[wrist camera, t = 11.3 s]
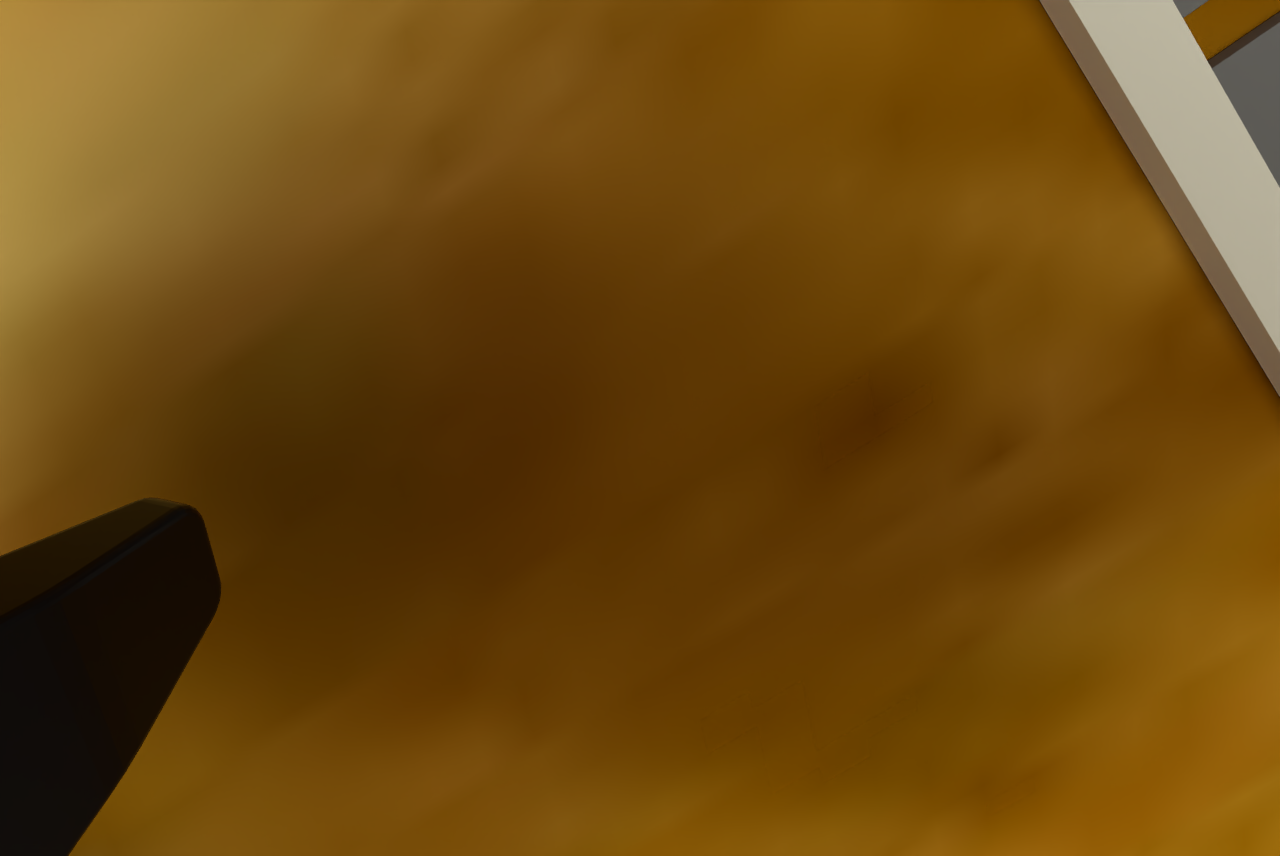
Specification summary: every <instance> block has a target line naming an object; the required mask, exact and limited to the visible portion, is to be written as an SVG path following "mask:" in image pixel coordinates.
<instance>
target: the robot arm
mask: <svg viewBox="0 0 1280 856" xmlns="http://www.w3.org/2000/svg"><path fill="white" fill-rule="evenodd" d="M220 595H221V582H220V578H219V574H218V570H217V567H216V563H215V559H214V556H213V552H212V549H211V545H210V541H209V538H208V534H207V530H206V527H205V523H204V520H203V518H202V516H201V515H200V513H199V512H198V511H197V510H196V509H195V508H193V507H192V506H190V505H187V504H182V503H177V502H173V501H168V500H164V499H159V498H144V499H141V500H138V501H135V502H133V503H130V504H128V505H125V506H123V507H121V508H118V509H116V510H113V511H111V512H108V513H106V514H103V515H101V516H98V517H96V518H93V519H91V520H88V521H86V522H83V523H81V524H78V525H76V526H74V527H71V528H69V529H66V530H64V531H61V532H59V533H56V534H54V535H51V536H49V537H46V538H44V539H41V540H39V541H36V542H34V543H31V544H29V545H27V546H24V547H22V548H19V549H17V550H14V551H12V552H9V553H7V554H4V555H2V556H0V856H68V855H69V854H70V853H71V851H72V850H73V848H74V847H75V845H76V844H77V842H78V841H79V840H80V838H81V837H82V835H83V834H84V832H85V831H86V830H87V828H88V827H89V825H90V824H91V822H92V821H93V820H94V818H95V817H96V815H97V814H98V812H99V811H100V809H101V808H102V807H103V805H104V804H105V802H106V801H107V799H108V798H109V796H110V795H111V793H112V792H113V790H114V789H115V787H116V786H117V784H118V783H119V781H120V780H121V778H122V777H123V775H124V774H125V772H126V771H127V769H128V767H129V766H130V764H131V762H132V760H133V759H134V757H135V755H136V754H137V752H138V751H139V749H140V747H141V746H142V744H143V742H144V740H145V738H146V737H147V735H148V733H149V731H150V729H151V728H152V726H153V724H154V722H155V721H156V719H157V717H158V715H159V713H160V712H161V710H162V708H163V706H164V704H165V703H166V701H167V699H168V697H169V696H170V694H171V692H172V690H173V688H174V687H175V685H176V683H177V681H178V679H179V678H180V676H181V674H182V672H183V671H184V669H185V667H186V665H187V663H188V662H189V660H190V658H191V656H192V655H193V653H194V651H195V649H196V647H197V646H198V644H199V642H200V640H201V638H202V637H203V635H204V633H205V631H206V630H207V628H208V626H209V624H210V622H211V621H212V619H213V617H214V615H215V613H216V610H217V607H218V604H219V601H220Z"/></svg>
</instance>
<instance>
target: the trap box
mask: <svg viewBox="0 0 1280 856" xmlns="http://www.w3.org/2000/svg"><path fill="white" fill-rule="evenodd" d="M1039 1H1040V2H1041V4H1042V6H1043V7H1044V9H1045V10H1046V12H1047V14H1048V15H1049V17H1050V19H1051V20H1052V22H1053V24H1054V25H1055V27H1056V29H1057V30H1058V32H1059V34H1060V35H1061V37H1062V39H1063V40H1064V42H1065V43H1066V45H1067V47H1068V48H1069V50H1070V52H1071V53H1072V55H1073V57H1074V58H1075V60H1076V62H1077V63H1078V65H1079V67H1080V68H1081V70H1082V72H1083V73H1084V75H1085V76H1086V78H1087V80H1088V81H1089V83H1090V85H1091V86H1092V88H1093V90H1094V91H1095V93H1096V95H1097V96H1098V98H1099V100H1100V101H1101V103H1102V105H1103V106H1104V108H1105V109H1106V111H1107V113H1108V114H1109V116H1110V118H1111V119H1112V121H1113V123H1114V124H1115V126H1116V128H1117V129H1118V131H1119V133H1120V134H1121V136H1122V138H1123V139H1124V141H1125V142H1126V144H1127V146H1128V147H1129V149H1130V151H1131V152H1132V154H1133V156H1134V157H1135V159H1136V161H1137V162H1138V164H1139V166H1140V167H1141V169H1142V171H1143V172H1144V174H1145V175H1146V177H1147V179H1148V180H1149V182H1150V184H1151V185H1152V187H1153V189H1154V190H1155V192H1156V194H1157V195H1158V197H1159V199H1160V200H1161V202H1162V204H1163V205H1164V207H1165V208H1166V210H1167V212H1168V213H1169V215H1170V217H1171V218H1172V220H1173V222H1174V223H1175V225H1176V227H1177V228H1178V230H1179V232H1180V233H1181V235H1182V237H1183V238H1184V240H1185V241H1186V243H1187V245H1188V246H1189V248H1190V250H1191V251H1192V253H1193V255H1194V256H1195V258H1196V260H1197V261H1198V263H1199V265H1200V266H1201V268H1202V270H1203V271H1204V273H1205V274H1206V276H1207V278H1208V279H1209V281H1210V283H1211V284H1212V286H1213V288H1214V289H1215V291H1216V293H1217V294H1218V296H1219V298H1220V299H1221V301H1222V303H1223V304H1224V306H1225V307H1226V309H1227V311H1228V312H1229V314H1230V316H1231V317H1232V319H1233V321H1234V322H1235V324H1236V326H1237V327H1238V329H1239V331H1240V332H1241V334H1242V336H1243V337H1244V339H1245V340H1246V342H1247V344H1248V345H1249V347H1250V349H1251V350H1252V352H1253V354H1254V355H1255V357H1256V359H1257V360H1258V362H1259V364H1260V365H1261V367H1262V369H1263V370H1264V372H1265V373H1266V375H1267V377H1268V378H1269V380H1270V382H1271V383H1272V385H1273V387H1274V388H1275V390H1276V392H1277V393H1278V395H1279V397H1280V12H1278V13H1277V14H1275V15H1274V16H1273V17H1271V18H1270V19H1268V20H1267V21H1265V22H1264V23H1262V24H1261V25H1259V26H1258V27H1256V28H1255V29H1254V30H1252V31H1251V32H1249V33H1248V34H1246V35H1245V36H1243V37H1242V38H1240V39H1239V40H1237V41H1236V42H1234V43H1233V44H1232V45H1230V46H1229V47H1227V48H1226V49H1224V50H1223V51H1221V52H1220V53H1218V54H1217V55H1215V56H1214V57H1213V58H1211V59H1210V60H1208V61H1207V60H1206V58H1205V56H1204V54H1203V53H1202V51H1201V49H1200V47H1199V46H1198V44H1197V42H1196V40H1195V39H1194V37H1193V35H1192V33H1191V32H1190V30H1189V28H1188V26H1187V25H1186V23H1185V21H1184V19H1183V18H1184V17H1185V16H1187V15H1188V14H1189V13H1191V12H1192V11H1194V10H1195V9H1197V8H1198V7H1199V6H1201V5H1202V4H1204V3H1205V2H1207V1H1208V0H1039Z"/></svg>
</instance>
